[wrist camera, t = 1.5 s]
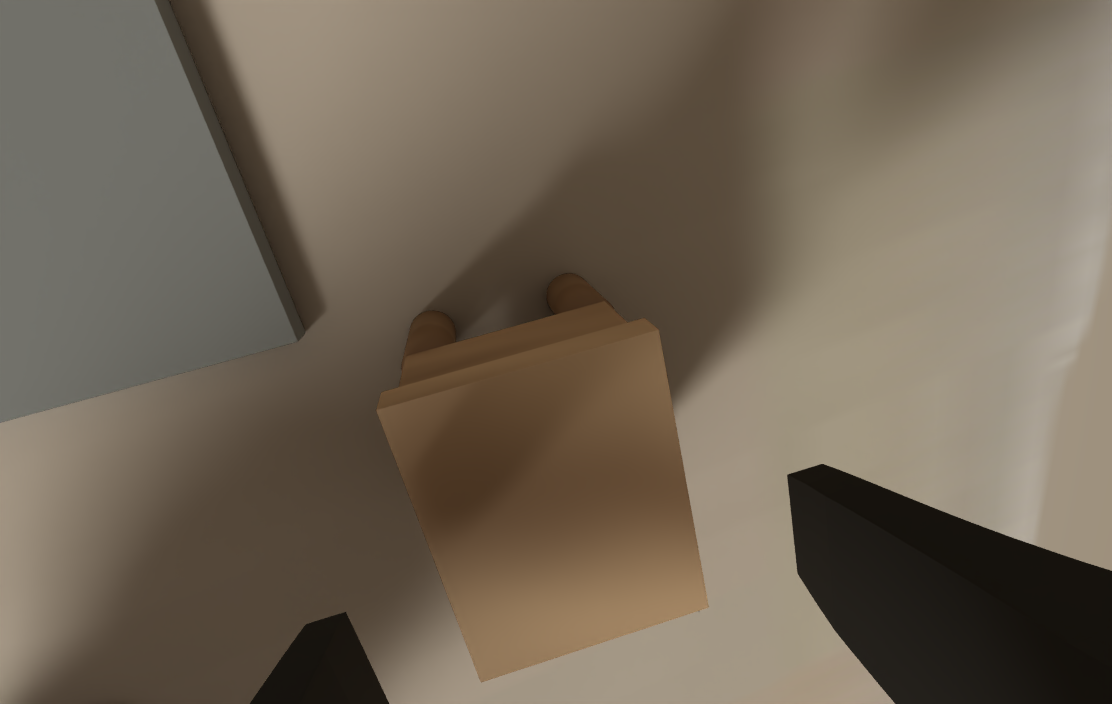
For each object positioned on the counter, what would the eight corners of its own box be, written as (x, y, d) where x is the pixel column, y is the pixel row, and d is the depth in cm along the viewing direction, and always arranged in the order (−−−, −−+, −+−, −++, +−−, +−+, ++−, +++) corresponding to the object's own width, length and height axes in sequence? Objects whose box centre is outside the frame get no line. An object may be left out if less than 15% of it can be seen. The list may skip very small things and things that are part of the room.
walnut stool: (627, 466, 18) (708, 607, 12) (471, 514, 17) (480, 682, 12) (584, 268, 16) (658, 329, 10) (404, 317, 15) (376, 410, 10)
